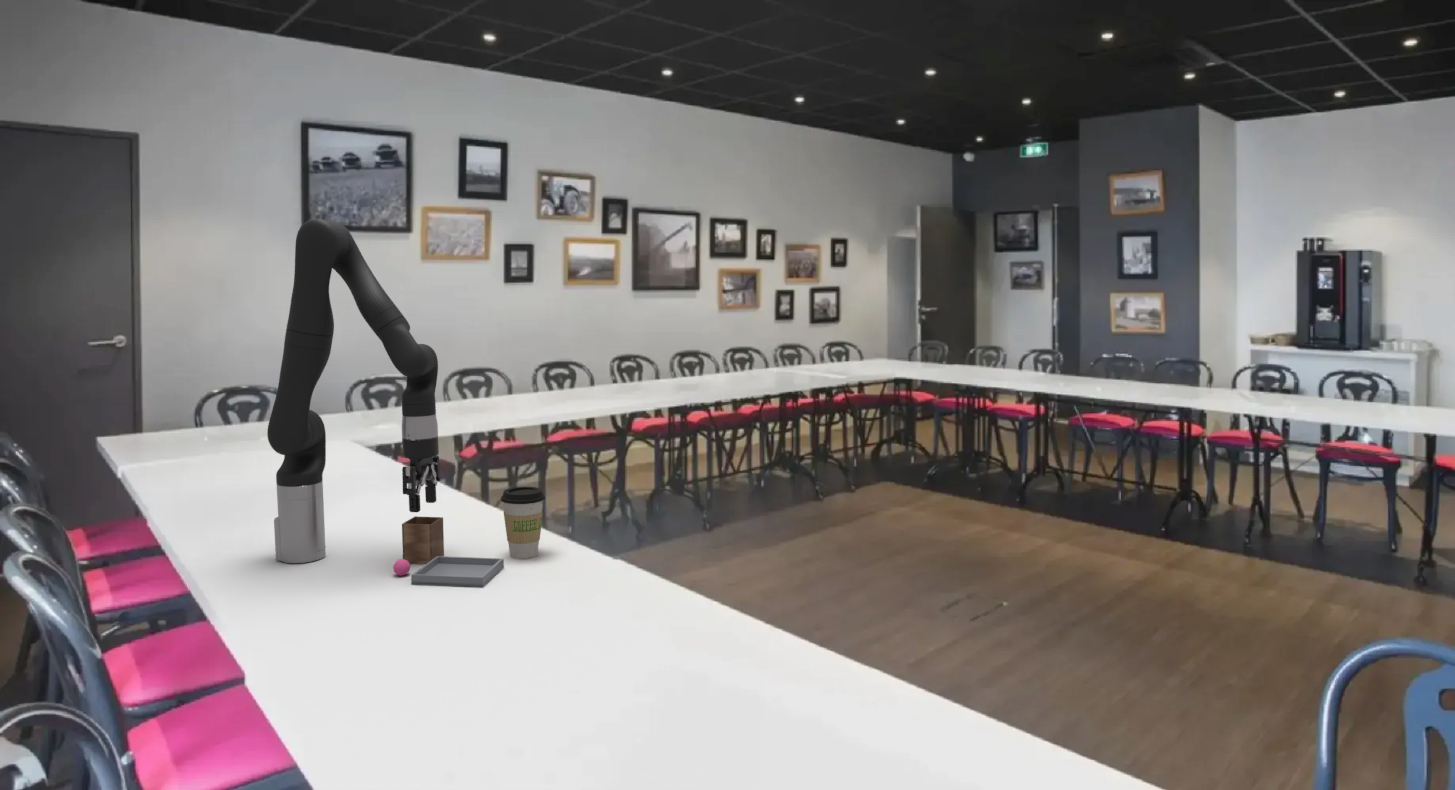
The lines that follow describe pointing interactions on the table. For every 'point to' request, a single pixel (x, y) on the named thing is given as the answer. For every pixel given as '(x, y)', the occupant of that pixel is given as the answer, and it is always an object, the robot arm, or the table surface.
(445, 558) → the tray
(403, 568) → the ball
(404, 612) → the table surface
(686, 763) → the table surface
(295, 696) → the table surface
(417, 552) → the pen cup
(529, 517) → the coffee cup
